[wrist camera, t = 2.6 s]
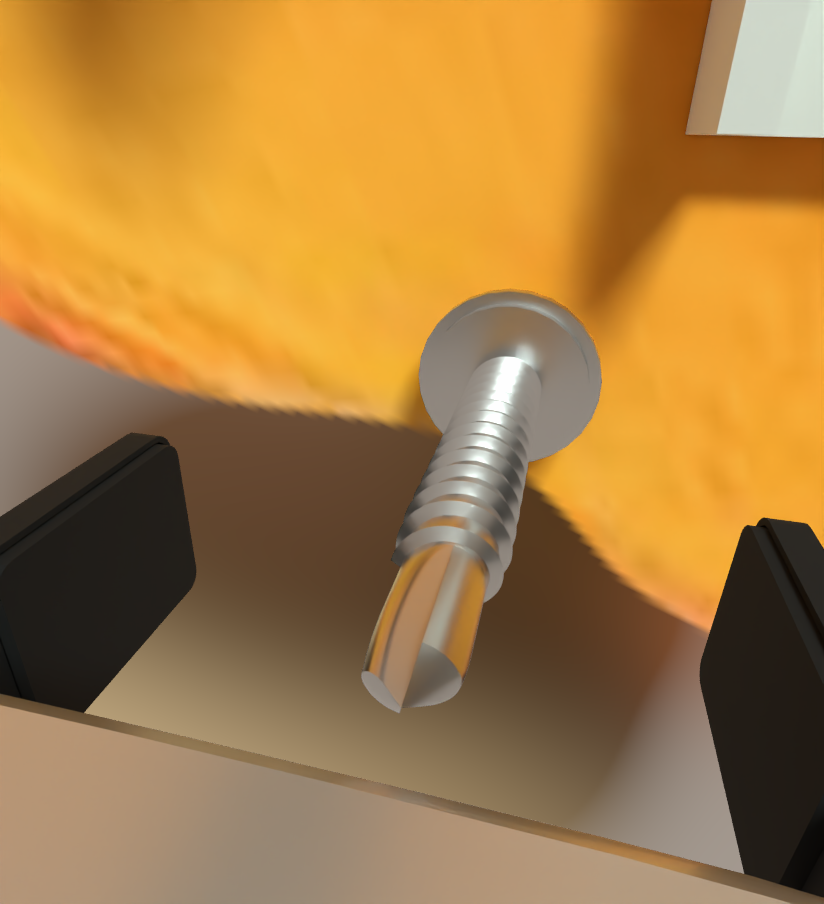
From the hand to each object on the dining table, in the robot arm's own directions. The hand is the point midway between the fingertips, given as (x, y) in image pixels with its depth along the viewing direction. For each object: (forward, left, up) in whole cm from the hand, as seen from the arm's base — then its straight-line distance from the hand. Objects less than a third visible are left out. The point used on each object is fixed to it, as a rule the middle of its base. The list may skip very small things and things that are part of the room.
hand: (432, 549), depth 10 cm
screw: (0, 0, -10) cm, 10 cm away
